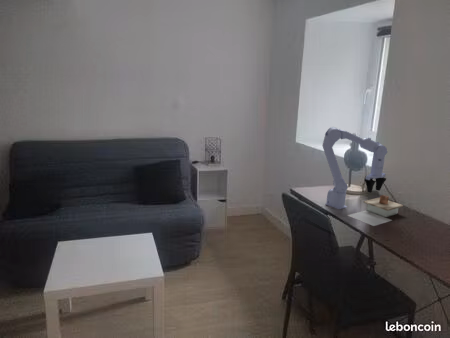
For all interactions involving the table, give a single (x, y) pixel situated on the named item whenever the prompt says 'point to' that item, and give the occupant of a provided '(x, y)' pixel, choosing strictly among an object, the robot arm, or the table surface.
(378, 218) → the mat
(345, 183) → the robot arm
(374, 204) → the lid
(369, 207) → the open box
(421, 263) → the table surface
